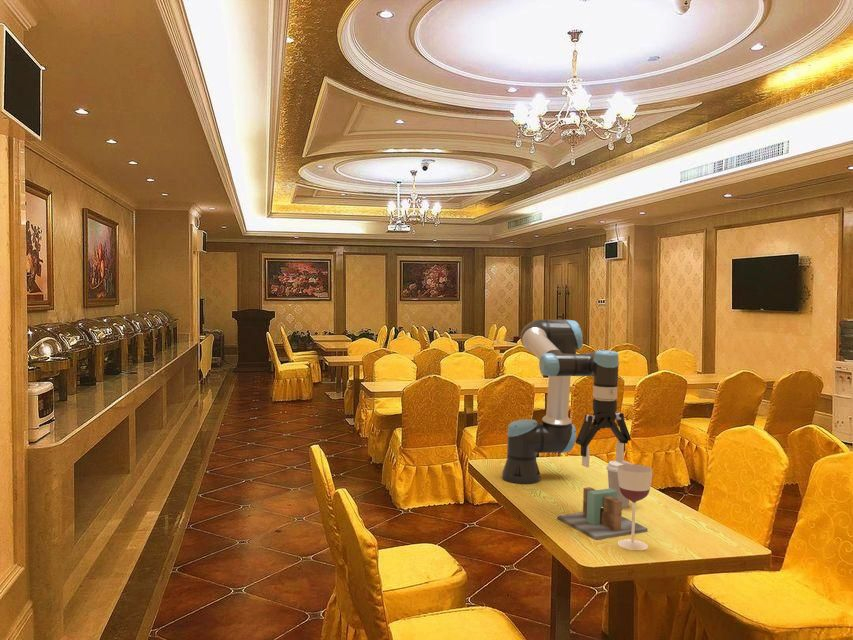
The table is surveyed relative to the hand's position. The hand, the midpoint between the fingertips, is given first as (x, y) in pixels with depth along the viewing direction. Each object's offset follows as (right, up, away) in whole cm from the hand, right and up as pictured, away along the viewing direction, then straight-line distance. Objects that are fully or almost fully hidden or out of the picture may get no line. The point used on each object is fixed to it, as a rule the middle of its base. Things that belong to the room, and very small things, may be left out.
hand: (602, 464), depth 211 cm
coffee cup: (+11, -19, +21) cm, 31 cm away
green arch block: (0, -19, 0) cm, 19 cm away
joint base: (0, -20, 0) cm, 20 cm away
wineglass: (+5, -21, -16) cm, 26 cm away
